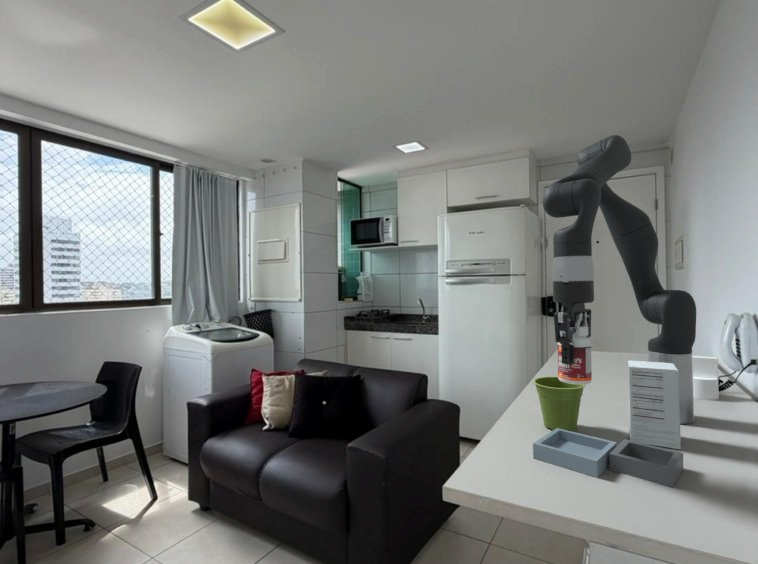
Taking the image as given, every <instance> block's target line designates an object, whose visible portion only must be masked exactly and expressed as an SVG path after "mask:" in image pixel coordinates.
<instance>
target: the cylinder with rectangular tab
mask: <svg viewBox="0 0 758 564" xmlns="http://www.w3.org/2000/svg"><path fill="white" fill-rule="evenodd" d="M718 359H719V358H718V357H716V356H704V355H703V356H701V355H692V368H693V400H694V399H695V400H703V401H704V400H705V401H715V400H716V399H717V400H719V398H720V397H719V395H720V394H719V363H718V362H719V361H718Z"/></svg>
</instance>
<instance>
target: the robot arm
mask: <svg viewBox="0 0 758 564" xmlns="http://www.w3.org/2000/svg"><path fill="white" fill-rule="evenodd" d="M631 162H632V151H631V149H630V146H629V145H628V143H627V141H626V140H625V138H624V137H623V136H621V135H618V134H613V135H610V136H606V137H604V138H603V139H600V140H599V141H597V142H594V143H593V144H591V145H588V146H586V147H584V148H582V149H581V150H580V151H579V152H578V153H577V164H578V167H577V168H575V169H574V170H573V171H572V173H570V175H568V176H565V177H563V178H560V179H559V180H556V181H554V182H553V183H551V184H550V185H549V186H548V187H547V188H546V190H545V191H544V193H543V197H542V207H543V210H544V211H545V213H546V214H547V215H548V216H549V217H551V218H555V219H556V218H557V219H558V218H559V219H561V218H568V217H569V218H570V217H577V218H576V219H575V222H573V223H572V224H571V225H568V226H566V227H562V228H559V229H557V230H556V231H555V232H554V234H553V239H552V240H553V241H552V243H553V244H552V245H553V262H552V263H553V264H552V300H553V302H554V303H556V304H557V303H558V304H561V308H560V312H557V311H556V312H554V313H553V322H554V323H553V324H554V337H555V342H556V343H558V342H559V343H560V344H561V352H562V363H563V364H569V365H572V364H574V362H575V360H574V346H573V345H574V341H575V336H576V335H578V333H579V327H580V326H582V325H583V326H588V333H589V335H588V336H585V337H586V338H587V339H589V338H591V336H592V309H591V308H586V306H585V304H590V303H591V304H592V303H593V302H594V301H595V284H594V283H595V282H594V281H595V280H594V279H595V277H594V276H595V275H594V273H595V272H594V264H593V257H592V254H593V253H592V249H593V248H592V237H593V235H592V234H593V230H594V229H593V228H594V225H595V224H594V223H595V220H596V216H597V213H598V210H599V209H600V211H601V212H602V213H601V214H602V215H603V217H604V220H605V223H606V226H607V228H608V230H609V232H610V235H611V238H612V240H613V242H614V245H615V247H616V250H617V251H618V253H619V256H620V258H621V260H622V263H623V266H624V268H625V270H626V273H627V274H628V277H629V280H630V282H631V287H632V289H633V293H634V295H635V296H634V297H635V300H636V302H637V303H636V304H637V305H638V308H639V309H638V310H639V311H640V314H641V315H642V317H643V318H644V319H645V320H646V321H647V322H649V323H652V324H655V325H661V328H660V329H661V331H660V334H658V336H656V337H652V338H650V339H649V340H648V341H647V355H648V356H647V359H648V361H647V362H663V363H673V364H674V365H675V367H676V368H677V370H678V371H679V403H680V425H681V424H684V425H685V424H692V423H693V422H694V421H695V415H694V414H695V413H694V412H695V411H694V408H695V407H694V398H693V368H692V356H693V346H694V344H695V341H696V335H697V334H696V333H697V306H696V305H697V304H696V302H695V299H694V298H693V295H691V294H690V293H689V292H687V291H685V290H680V289H664V288H663V286H662V284H661V281H660V279H659V276H658V274H657V269H656V262H657V256H658V250H659V238H658V236H657V235H658V234H657V233H656V231H655V228H654V225H653V224H652V221H651V219H650V216H649V215H648V214H647V213H646V212H645V211H643V210H642V209H640V208H639V207H638V206H635V205H634V204H632V203H630V202H629V201H627V200H626V199H624V198H622V197H621V196H619V195H618V194H617V193H615V192H614V191H613V190H612V188H611V187H610V186H609V185H608V183H607V182H608V181H610V180H611V178H612V177H614V176H615V175H616V174H618V173H620V172H621V171H623V170H625V169H626V168H628V167H629V166H630V165H631ZM570 327H574V328H573V329H570ZM560 333H561V334H560ZM565 335H566V337H565ZM570 335H571V336H570Z"/></svg>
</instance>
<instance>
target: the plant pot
mask: <svg viewBox="0 0 758 564" xmlns="http://www.w3.org/2000/svg"><path fill="white" fill-rule="evenodd" d="M532 381H533V384H534V385H535V388H536V392H537V394H538V399H539V403H540V409H541V410H540V411H541V415H542V420H543V426H544V427H545V428H546V429H547V428H548V429H550V430H551V431H553V430H555V429H556V428H559V429H563V430H567V431H572V432H576V430H577V427H578V418H579V413H580V407H581V401H582V397H583V392H584V388H586V386H587V384H585V385H575V384H568V383H564V382H561V381H560V380H559V379H558V376H541V377H540V376H539V377H536V378H535V379H533V380H532Z"/></svg>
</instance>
